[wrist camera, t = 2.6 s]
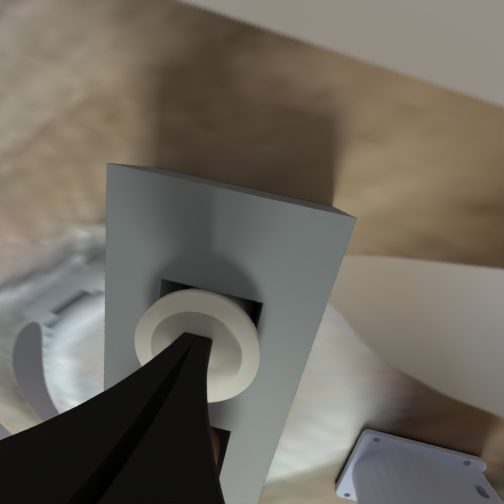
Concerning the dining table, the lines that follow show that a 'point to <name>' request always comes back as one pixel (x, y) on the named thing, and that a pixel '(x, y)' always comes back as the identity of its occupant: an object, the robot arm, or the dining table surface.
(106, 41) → the dining table surface
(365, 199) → the dining table surface
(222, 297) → the plunger
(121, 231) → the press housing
